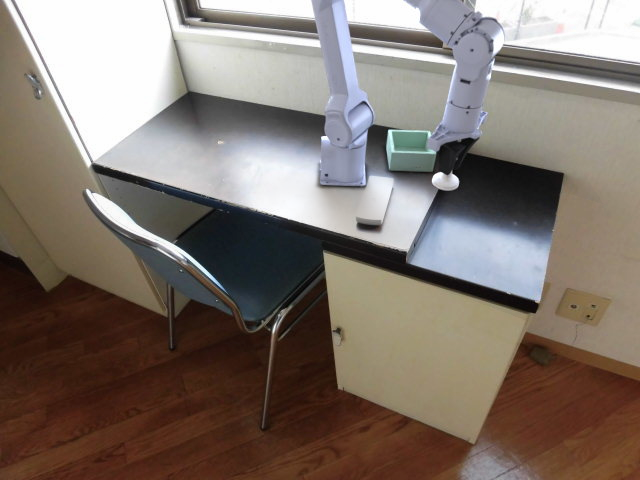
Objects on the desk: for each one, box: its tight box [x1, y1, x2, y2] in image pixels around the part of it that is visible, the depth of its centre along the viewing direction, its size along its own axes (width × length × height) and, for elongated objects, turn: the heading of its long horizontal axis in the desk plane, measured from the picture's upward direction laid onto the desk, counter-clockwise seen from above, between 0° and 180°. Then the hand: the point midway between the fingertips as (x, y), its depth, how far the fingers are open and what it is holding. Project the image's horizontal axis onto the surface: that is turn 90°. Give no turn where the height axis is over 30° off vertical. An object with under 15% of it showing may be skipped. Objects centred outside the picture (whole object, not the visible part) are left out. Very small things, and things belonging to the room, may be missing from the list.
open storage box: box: [385, 129, 437, 173], centre depth 105 cm, size 9×9×5 cm
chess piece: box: [431, 139, 461, 191], centre depth 85 cm, size 5×5×10 cm
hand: (448, 169), depth 86 cm, fingers closed on chess piece
